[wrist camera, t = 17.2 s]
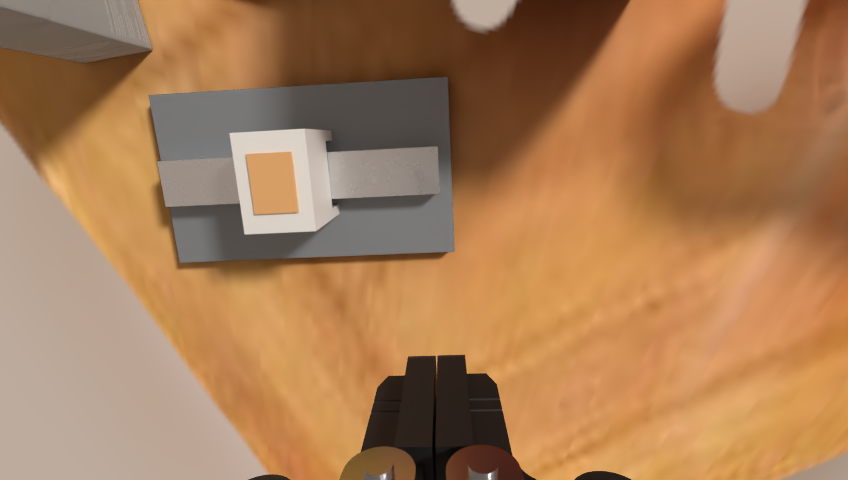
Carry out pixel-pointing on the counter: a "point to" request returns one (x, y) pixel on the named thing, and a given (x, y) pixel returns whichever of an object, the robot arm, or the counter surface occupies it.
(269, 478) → the robot arm
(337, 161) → the rail
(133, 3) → the skincare box
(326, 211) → the block
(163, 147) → the rail board
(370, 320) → the counter surface
